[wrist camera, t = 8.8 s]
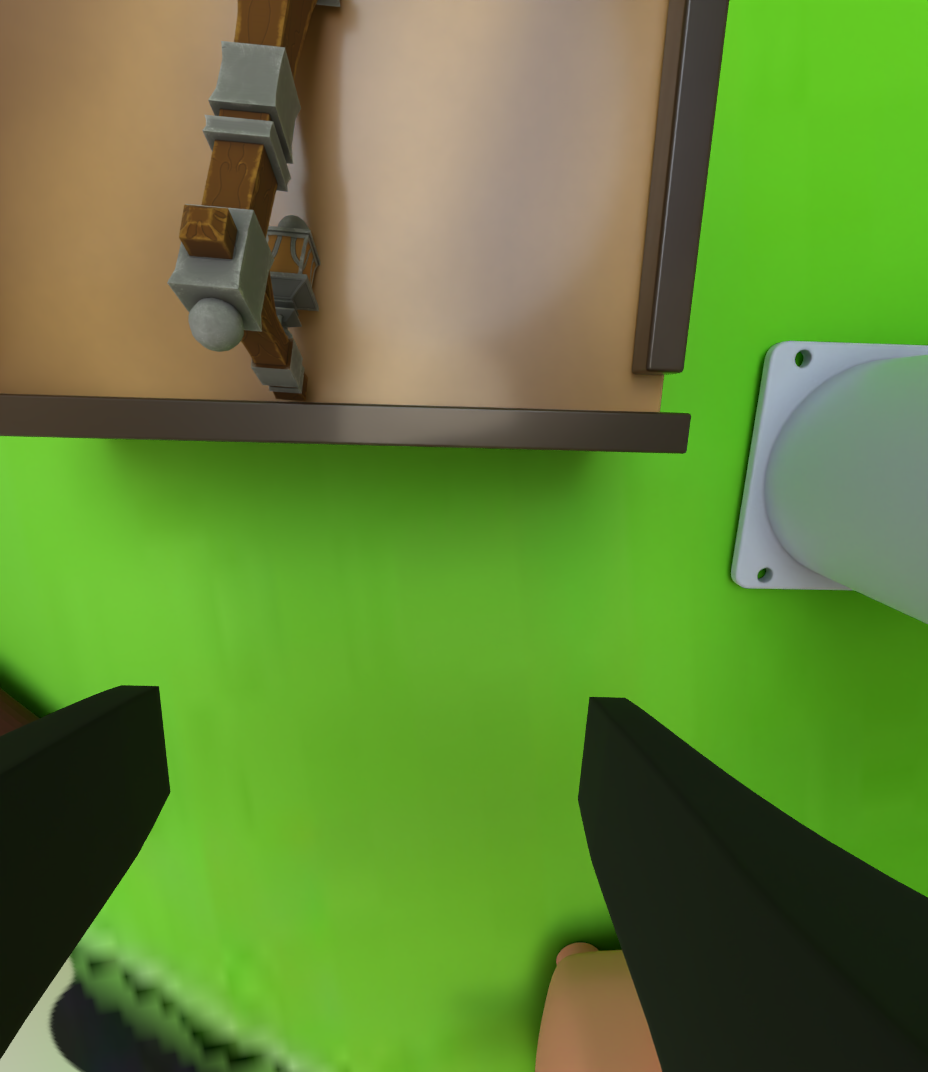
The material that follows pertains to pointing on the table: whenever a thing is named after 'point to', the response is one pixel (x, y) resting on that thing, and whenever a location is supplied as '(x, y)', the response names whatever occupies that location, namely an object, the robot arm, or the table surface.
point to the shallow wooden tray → (366, 221)
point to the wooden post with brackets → (252, 203)
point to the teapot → (594, 1016)
